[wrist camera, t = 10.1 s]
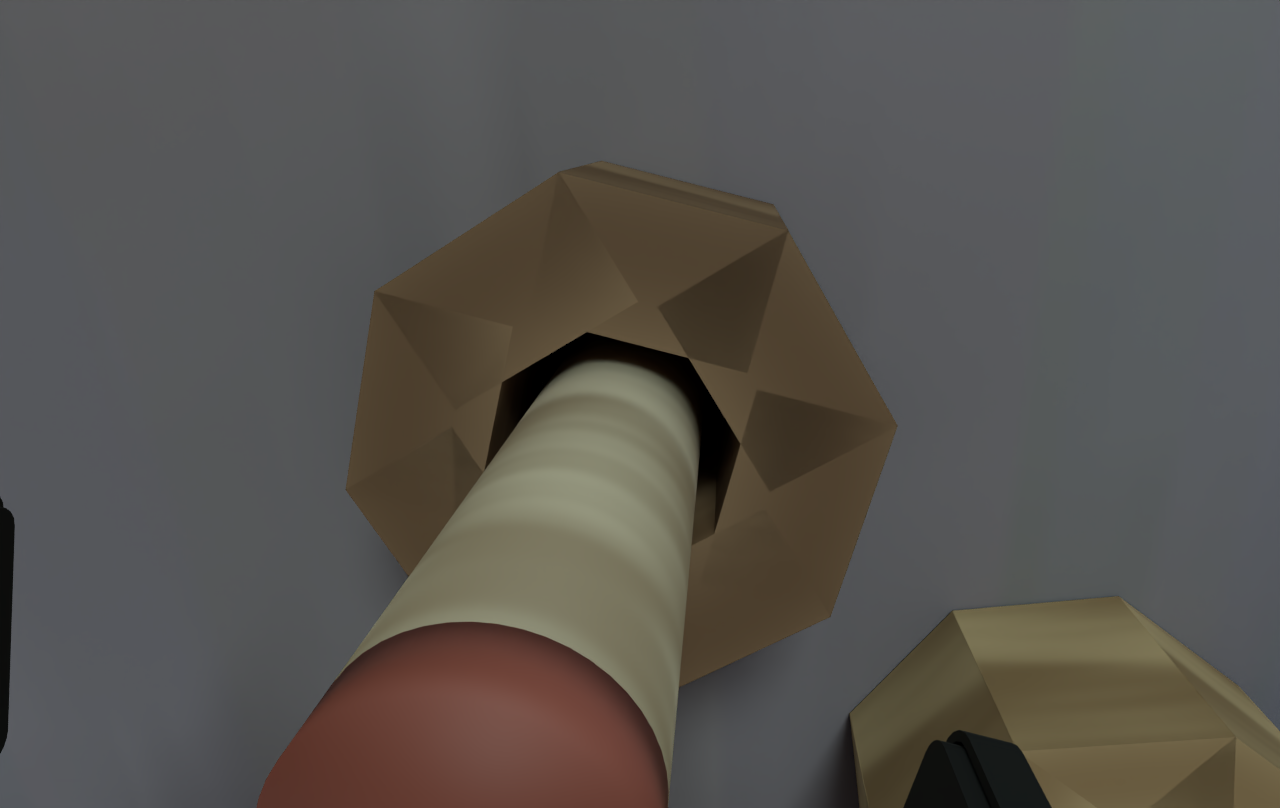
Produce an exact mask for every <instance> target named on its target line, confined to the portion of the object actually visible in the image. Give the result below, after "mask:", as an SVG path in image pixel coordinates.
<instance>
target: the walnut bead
mask: <svg viewBox="0 0 1280 808" xmlns="http://www.w3.org/2000/svg"><path fill="white" fill-rule="evenodd" d="M586 332H589V333H593V334H597V335H601V336H605V337H609V338H613V339H617V340H620V341H624V342H628V343H632V344H636V345H640V346H644V347H648V348H652V349H655V350H659V351H663V352H667V353H671V354H675V355H679V356H683V357H687V358H689V360H690V361H691V363H692V365H693V366H694V368H695V369H696V371H697V373H698V374H699V376H700V378H701V379H702V381H703V383H704V384H705V386H706V388H707V389H708V391H709V393H710V394H711V396H712V398H713V399H714V401H715V402H716V404H717V406H718V407H719V409H720V411H721V412H722V414H723V416H724V419H723V423H722V426H721V430H720V433H719V437H718V439H717V440H716V441H714V442H712V443H710V444H708V445H706V446H704V447H702V448H701V449H700V457H699V468H698V479H697V490H696V501H695V512H694V523H693V534H692V545H691V557H690V568H689V579H688V590H687V601H686V612H685V623H684V634H683V645H682V656H681V668H680V679H679V687H681V686H683V685H685V684H688V683H690V682H692V681H694V680H696V679H698V678H700V677H703V676H705V675H707V674H709V673H711V672H713V671H715V670H718V669H720V668H722V667H724V666H726V665H728V664H730V663H733V662H735V661H737V660H739V659H741V658H743V657H745V656H748V655H750V654H752V653H754V652H756V651H758V650H760V649H763V648H765V647H767V646H769V645H771V644H773V643H775V642H778V641H780V640H782V639H784V638H786V637H788V636H790V635H793V634H795V633H797V632H799V631H801V630H803V629H805V628H808V627H810V626H812V625H814V624H816V623H818V622H820V621H823V620H825V619H827V618H829V617H830V616H831V613H832V611H833V608H834V605H835V602H836V599H837V596H838V594H839V591H840V588H841V585H842V582H843V579H844V576H845V574H846V571H847V568H848V565H849V562H850V559H851V557H852V554H853V551H854V548H855V545H856V542H857V540H858V537H859V534H860V531H861V528H862V525H863V523H864V520H865V517H866V514H867V511H868V508H869V505H870V503H871V500H872V497H873V494H874V491H875V488H876V486H877V483H878V480H879V477H880V474H881V471H882V469H883V466H884V463H885V460H886V457H887V454H888V452H889V449H890V446H891V443H892V440H893V437H894V434H895V432H896V429H897V424H896V422H895V420H894V419H893V417H892V415H891V413H890V411H889V410H888V408H887V406H886V404H885V403H884V401H883V399H882V397H881V396H880V394H879V392H878V390H877V388H876V387H875V385H874V383H873V381H872V380H871V378H870V376H869V374H868V373H867V371H866V369H865V367H864V365H863V364H862V362H861V360H860V358H859V356H858V355H857V353H856V351H855V349H854V348H853V346H852V344H851V342H850V340H849V339H848V337H847V335H846V333H845V331H844V330H843V328H842V326H841V324H840V323H839V321H838V319H837V317H836V315H835V314H834V312H833V310H832V308H831V306H830V305H829V303H828V301H827V299H826V297H825V296H824V294H823V292H822V290H821V289H820V287H819V285H818V283H817V281H816V280H815V278H814V276H813V274H812V272H811V271H810V269H809V267H808V265H807V263H806V262H805V260H804V258H803V256H802V255H801V253H800V251H799V249H798V247H797V246H796V244H795V242H794V240H793V238H792V237H791V235H790V233H789V231H788V229H787V227H786V225H785V224H784V222H783V220H782V219H781V217H780V215H779V213H778V212H777V210H776V208H775V206H774V205H773V204H770V203H766V202H762V201H758V200H754V199H750V198H746V197H742V196H738V195H734V194H730V193H726V192H722V191H718V190H714V189H710V188H706V187H702V186H699V185H695V184H691V183H687V182H683V181H679V180H675V179H671V178H667V177H663V176H659V175H655V174H651V173H647V172H643V171H639V170H635V169H631V168H628V167H624V166H620V165H616V164H612V163H608V162H604V161H599V162H595V163H591V164H588V165H584V166H580V167H576V168H572V169H568V170H564V171H561V172H558V173H557V174H555V175H554V176H552V177H551V178H549V179H547V180H546V181H544V182H543V183H541V184H540V185H538V186H537V187H535V188H534V189H532V190H530V191H529V192H527V193H526V194H524V195H523V196H521V197H520V198H518V199H517V200H515V201H513V202H512V203H510V204H509V205H507V206H506V207H504V208H503V209H501V210H500V211H498V212H496V213H495V214H493V215H492V216H490V217H489V218H487V219H486V220H484V221H483V222H481V223H479V224H478V225H476V226H475V227H473V228H472V229H470V230H469V231H467V232H466V233H464V234H462V235H461V236H459V237H458V238H456V239H455V240H453V241H452V242H450V243H449V244H447V245H445V246H444V247H442V248H441V249H439V250H438V251H436V252H435V253H433V254H432V255H430V256H428V257H427V258H425V259H424V260H422V261H421V262H419V263H418V264H416V265H415V266H413V267H411V268H410V269H408V270H407V271H405V272H404V273H402V274H401V275H399V276H398V277H396V278H394V279H393V280H391V281H390V282H388V283H387V284H385V285H384V286H382V287H381V288H379V289H377V290H376V291H374V299H373V305H372V312H371V319H370V326H369V333H368V340H367V347H366V354H365V360H364V367H363V374H362V381H361V388H360V395H359V402H358V409H357V415H356V422H355V429H354V436H353V443H352V450H351V457H350V463H349V470H348V477H347V484H346V491H347V492H348V494H349V495H350V496H351V498H352V499H353V501H354V502H355V503H356V505H357V506H358V507H359V509H360V510H361V512H362V513H363V514H364V516H365V517H366V518H367V520H368V521H369V523H370V524H371V525H372V527H373V528H374V529H375V531H376V532H377V534H378V535H379V536H380V538H381V539H382V540H383V542H384V543H385V545H386V546H387V547H388V549H389V550H390V551H391V553H392V554H393V556H394V557H395V558H396V560H397V561H398V562H399V564H400V565H401V567H402V568H403V569H404V571H405V572H406V573H407V575H408V576H410V574H411V573H412V572H413V570H414V569H415V567H416V566H417V565H418V563H419V562H420V560H421V559H422V558H423V556H424V555H425V553H426V552H427V551H428V549H429V548H430V546H431V545H432V544H433V542H434V541H435V539H436V538H437V537H438V535H439V534H440V532H441V531H442V530H443V528H444V527H445V525H446V524H447V523H448V521H449V520H450V518H451V517H452V516H453V514H454V513H455V511H456V510H457V509H458V507H459V506H460V504H461V503H462V502H463V500H464V499H465V497H466V496H467V495H468V493H469V492H470V490H471V489H472V487H473V486H474V485H475V483H476V482H477V480H478V479H479V478H480V476H481V475H482V473H483V472H484V471H485V469H486V468H487V466H488V465H489V464H490V462H491V461H492V459H493V458H494V457H495V455H496V454H497V452H498V451H499V450H500V448H501V447H502V445H503V444H504V443H505V441H506V440H507V438H508V437H509V436H510V434H511V433H512V431H513V430H514V429H515V427H516V426H517V424H518V423H519V422H520V420H521V419H522V417H523V416H524V415H525V413H526V412H527V410H528V409H529V408H530V406H531V405H532V403H533V402H534V401H535V399H536V398H537V396H538V395H539V394H540V392H541V390H542V385H543V380H544V376H545V371H546V366H547V362H548V357H549V354H551V353H552V352H554V351H556V350H557V349H559V348H561V347H562V346H564V345H566V344H567V343H569V342H571V341H573V340H574V339H576V338H578V337H579V336H581V335H583V334H584V333H586Z"/></svg>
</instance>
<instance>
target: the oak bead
mask: <svg viewBox="0 0 1280 808" xmlns="http://www.w3.org/2000/svg"><path fill="white" fill-rule="evenodd" d="M850 722H851V732H852V741H853V751H854V760H855V770H856V779H857V788H858V798H859V807H860V808H903V807H904V804H905V802H906V799H907V797H908V794H909V792H910V789H911V787H912V784H913V782H914V780H915V777H916V775H917V772H918V770H919V767H920V765H921V762H922V760H923V757H924V755H925V752H926V750H927V748H928V746H929V745H930V744H931V743H932V742H933V741H935V740H940V741H944V742H946V740H947V739H948V737H949V736H950V735H951V734H952V733H953V732H954V731H957V730H962V731H966V732H970V733H974V734H978V735H982V736H986V737H990V738H994V739H998V740H1002V741H1006V742H1010V743H1013V744H1015V745H1017V746H1018V747H1019V748H1020V750H1021V751H1022V752H1023V754H1024V756H1025V758H1026V760H1027V762H1028V763H1029V765H1030V767H1031V769H1032V771H1033V773H1034V775H1035V777H1036V779H1037V781H1038V782H1039V784H1040V786H1041V788H1042V790H1043V792H1044V794H1045V796H1046V798H1047V800H1048V801H1049V803H1050V805H1051V807H1052V808H1280V731H1279V730H1278V729H1277V728H1276V727H1275V726H1274V725H1273V723H1272V722H1271V721H1270V720H1269V719H1268V718H1267V717H1266V716H1265V715H1264V714H1263V712H1262V711H1261V710H1260V709H1259V708H1258V707H1257V706H1256V705H1255V704H1254V703H1253V702H1252V700H1251V699H1250V698H1249V697H1248V696H1247V695H1246V694H1245V693H1244V692H1243V691H1242V689H1241V688H1240V687H1239V686H1238V685H1236V684H1235V683H1234V682H1232V681H1231V680H1230V679H1228V678H1227V677H1226V676H1224V675H1223V674H1222V673H1220V672H1219V671H1218V670H1216V669H1215V668H1214V667H1212V666H1211V665H1210V664H1208V663H1207V662H1206V661H1204V660H1203V659H1202V658H1200V657H1199V656H1198V655H1196V654H1195V653H1194V652H1192V651H1191V650H1190V649H1188V648H1187V647H1186V646H1184V645H1183V644H1182V643H1180V642H1179V641H1178V640H1176V639H1175V638H1174V637H1172V636H1171V635H1170V634H1168V633H1167V632H1166V631H1164V630H1163V629H1162V628H1160V627H1159V626H1158V625H1156V624H1155V623H1154V622H1152V621H1151V620H1150V619H1148V618H1147V617H1146V616H1144V615H1143V614H1142V613H1140V612H1139V611H1138V610H1136V609H1135V608H1134V607H1132V606H1131V605H1130V604H1128V603H1127V602H1125V601H1124V600H1123V599H1121V598H1120V597H1119V596H1116V597H1105V598H1093V599H1082V600H1070V601H1059V602H1047V603H1036V604H1024V605H1013V606H1001V607H990V608H979V609H967V610H956V611H952V612H951V613H950V614H949V615H948V616H947V617H946V618H945V619H944V620H943V621H942V622H941V623H940V624H939V625H938V626H937V627H936V628H935V629H934V630H933V631H932V632H931V633H930V634H929V635H928V636H927V637H926V638H925V639H924V640H923V641H922V642H921V643H920V644H919V645H918V646H917V647H916V648H915V649H914V650H913V651H912V652H911V653H910V654H909V655H908V656H907V657H906V658H905V659H904V660H903V661H902V662H901V663H900V664H899V665H898V666H897V667H896V668H895V669H894V670H893V671H892V672H891V673H890V674H889V675H888V676H887V677H886V678H885V679H884V680H883V681H882V682H881V683H880V684H879V685H878V686H877V687H876V688H875V689H874V690H873V691H872V692H871V693H870V694H869V695H868V696H867V697H866V698H865V699H864V700H863V701H862V702H861V703H860V704H859V705H858V706H857V707H856V708H855V709H854V710H853V711H852V712H851V713H850Z"/></svg>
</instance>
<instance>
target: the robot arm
mask: <svg viewBox="0 0 1280 808" xmlns="http://www.w3.org/2000/svg"><path fill="white" fill-rule="evenodd" d="M14 530H15V525H14V517H13V515H12V513H11V512H10V511H9V510H7V509H6V508H3V502H2V500H1V498H0V753H1V751H2V749H3V747H4V744H5V741H6V739H7V732H8V710H9V680H10V650H11V620H12V590H13V560H14ZM903 808H1052V807H1051V805H1050V803H1049V801H1048V800H1047V798H1046V796H1045V794H1044V792H1043V790H1042V788H1041V786H1040V784H1039V782H1038V781H1037V779H1036V777H1035V775H1034V773H1033V771H1032V769H1031V767H1030V765H1029V763H1028V762H1027V760H1026V758H1025V756H1024V754H1023V752H1022V751H1021V750H1020V748H1019V747H1018V746H1017V745H1015V744H1013V743H1010V742H1006V741H1002V740H998V739H994V738H990V737H986V736H982V735H978V734H974V733H970V732H966V731H962V730H957V731H954V732H953V733H952V734H951V735H950V736H949V737H948V739H947V740H946V742H944V741H940V740H935V741H933V742H932V743H931V744H930V745H929V746H928V748H927V750H926V752H925V755H924V757H923V760H922V762H921V765H920V767H919V770H918V772H917V775H916V777H915V780H914V782H913V784H912V787H911V789H910V792H909V794H908V797H907V799H906V802H905V804H904V807H903Z"/></svg>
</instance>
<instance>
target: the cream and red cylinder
mask: <svg viewBox="0 0 1280 808" xmlns="http://www.w3.org/2000/svg"><path fill="white" fill-rule="evenodd" d="M705 390H706V386H705V384H704V383H703V381H702V379H701V378H700V376H699V374H698V373H697V371H696V369H695V368H694V366H693V365H692V363H691V361H690V360H689V358H687V357H683V356H679V355H675V354H671V353H667V352H663V351H659V350H655V349H652V348H648V347H644V346H640V345H636V344H632V343H628V342H624V341H620V340H617V339H613V338H609V337H605V336H601V335H597V334H593V333H589V332H586V333H584V334H583V335H582V336H581V337H580V338H579V339H578V340H577V342H576V343H575V345H574V346H573V347H572V349H571V350H570V352H569V353H568V354H567V356H566V357H565V359H564V360H563V361H562V363H561V364H560V366H559V367H558V368H557V370H556V371H555V373H554V374H553V375H552V377H551V378H550V380H549V381H548V382H547V384H546V385H545V387H544V388H543V389H542V391H541V392H540V394H539V395H538V396H537V398H536V399H535V401H534V402H533V403H532V405H531V406H530V408H529V409H528V410H527V412H526V413H525V415H524V416H523V417H522V419H521V420H520V422H519V423H518V424H517V426H516V427H515V429H514V430H513V431H512V433H511V434H510V436H509V437H508V438H507V440H506V441H505V443H504V444H503V445H502V447H501V448H500V450H499V451H498V452H497V454H496V455H495V457H494V458H493V459H492V461H491V462H490V464H489V465H488V466H487V468H486V469H485V471H484V472H483V473H482V475H481V476H480V478H479V479H478V480H477V482H476V483H475V485H474V486H473V487H472V489H471V490H470V492H469V493H468V495H467V496H466V497H465V499H464V500H463V502H462V503H461V504H460V506H459V507H458V509H457V510H456V511H455V513H454V514H453V516H452V517H451V518H450V520H449V521H448V523H447V524H446V525H445V527H444V528H443V530H442V531H441V532H440V534H439V535H438V537H437V538H436V539H435V541H434V542H433V544H432V545H431V546H430V548H429V549H428V551H427V552H426V553H425V555H424V556H423V558H422V559H421V560H420V562H419V563H418V565H417V566H416V567H415V569H414V570H413V572H412V573H411V574H410V576H409V577H408V579H407V580H406V581H405V583H404V584H403V586H402V587H401V588H400V590H399V591H398V593H397V594H396V595H395V597H394V598H393V600H392V601H391V602H390V604H389V605H388V607H387V608H386V609H385V611H384V612H383V614H382V615H381V616H380V618H379V619H378V621H377V622H376V623H375V625H374V626H373V628H372V629H371V630H370V632H369V633H368V635H367V636H366V637H365V639H364V640H363V642H362V643H361V644H360V646H359V647H358V649H357V650H356V651H355V653H354V654H353V656H352V657H351V658H350V660H349V661H348V663H347V664H346V665H345V667H344V668H343V670H342V671H341V672H340V674H339V675H338V677H337V678H336V679H335V681H334V682H333V684H332V685H331V686H330V688H329V689H328V691H327V692H326V693H325V695H324V696H323V698H322V699H321V700H320V702H319V703H318V705H317V706H316V707H315V709H314V710H313V712H312V713H311V714H310V716H309V717H308V719H307V720H306V721H305V723H304V724H303V726H302V727H301V728H300V730H299V731H298V733H297V734H296V735H295V737H294V738H293V740H292V741H291V742H290V744H289V745H288V747H287V748H286V749H285V751H284V752H283V754H282V755H281V756H280V758H279V759H278V761H277V762H276V764H275V766H274V767H273V769H272V771H271V772H270V774H269V775H268V777H267V779H266V781H265V784H264V786H263V789H262V791H261V794H260V796H259V799H258V803H257V808H668V801H669V790H670V779H671V767H672V756H673V745H674V734H675V723H676V712H677V701H678V690H679V679H680V668H681V656H682V645H683V634H684V623H685V612H686V601H687V590H688V579H689V568H690V557H691V545H692V534H693V523H694V512H695V501H696V490H697V479H698V468H699V457H700V445H701V434H702V423H703V412H704V401H705Z"/></svg>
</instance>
